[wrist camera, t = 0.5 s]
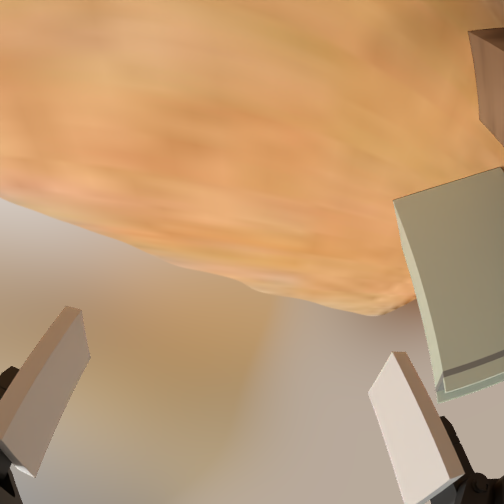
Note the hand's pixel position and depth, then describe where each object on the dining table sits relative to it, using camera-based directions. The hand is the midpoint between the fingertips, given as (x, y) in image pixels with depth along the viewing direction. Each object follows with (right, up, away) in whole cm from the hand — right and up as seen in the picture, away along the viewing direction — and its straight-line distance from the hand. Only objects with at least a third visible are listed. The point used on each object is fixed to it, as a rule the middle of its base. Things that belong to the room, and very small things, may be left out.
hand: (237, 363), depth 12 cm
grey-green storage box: (+24, +9, +18) cm, 31 cm away
